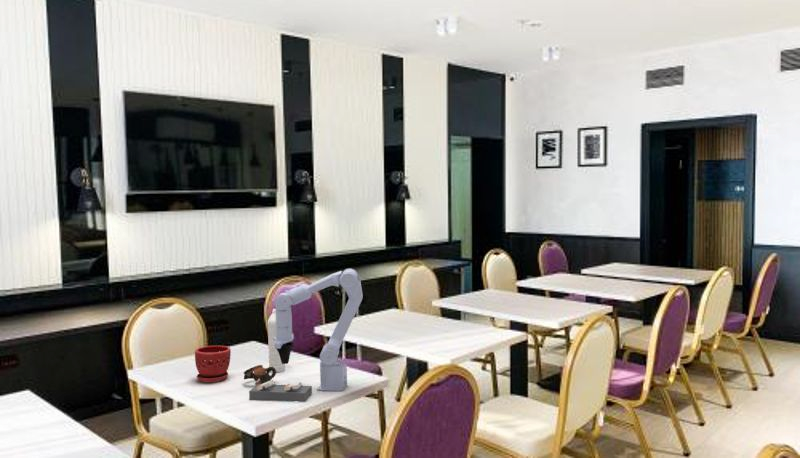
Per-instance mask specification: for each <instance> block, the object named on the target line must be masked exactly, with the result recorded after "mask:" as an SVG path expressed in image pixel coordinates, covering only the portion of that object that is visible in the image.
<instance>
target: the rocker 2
mask: <svg viewBox="0 0 800 458" xmlns="http://www.w3.org/2000/svg"><path fill="white" fill-rule="evenodd" d="M285 385H286V386H285V387H284V389H285V391H286V390H293V389H297V388H299V387H300V386H301V385H302V381H298V382H297V381H296V382H293V383H288V384H285Z"/></svg>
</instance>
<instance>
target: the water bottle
mask: <svg viewBox="0 0 800 458" xmlns="http://www.w3.org/2000/svg"><path fill="white" fill-rule="evenodd" d="M267 333H268V335H267V337H268V340H267V341H268V347H267V348H268V364H269V365H268V367H274V368H275V369H276V373H281V372H285V371H286V364H282V362H281V359H280V355H279V353H278V351H277V349H276V348H275V342H276V341H274V340H273V338H276V308H273V309H272V312H271V315H270V316H269V317H268V320H267ZM270 372H271V373H272V370H271V371H270ZM270 372H269V373H270Z"/></svg>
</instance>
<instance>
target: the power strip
mask: <svg viewBox="0 0 800 458" xmlns="http://www.w3.org/2000/svg"><path fill="white" fill-rule="evenodd" d="M259 385H260V384H258V385H255V386H254V387H252V388H251V389H250V390H249V391H248V396H249V397H248V398H249V400H250V401H272V402H273V401H274V402H275V401H276V402H294V401H298V402H300V403H305V402H307V400H308V399H310V397H311V396H312V395H313V386H312V385H301V386H300V387H299V388H297V389H293V390H286V391H285V389H284V387H285V386H286V385H287V384H275V383H273V384H272V385H271V386H269V387H266V388H265V389H261V390H259V391H258V390H257V387H258V386H259ZM311 394H312V395H311Z"/></svg>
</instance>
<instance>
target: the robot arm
mask: <svg viewBox="0 0 800 458" xmlns="http://www.w3.org/2000/svg"><path fill="white" fill-rule="evenodd" d="M361 282H362V281H361V277H360V275H359V274H358V272H357V271H356V269H354V268H345V269H344V270H339V271H337V272H333V273H331V274H330V275H326V276H325V277H323V278H320V279H319V280H317V281H314V282H313V283H311V284H305V283H302V284H301V283H299V284H296V286H295V287H293V288H290V289H289V290H288V289H286V290H284V292H281V293H279V294H278V295H277V296H276V297H275V298H274V300H273V305H274V307H275V309H276V338H273V340H274V341H276V342H275V348H276V349H277V351H278V353H279V355H280V359H281V362H282V364H285V365H288V363H289V361H290V356H291V352H292V349H293V347H294V342H293V341H294V339H295V337H294V334H295V333H293V314H292V306H296V305H299V304H300V303H303V302H304V301H307V300H309V299H311V296H312V294H314V293H316V292H319V291H321V290H323V289H326V288H328V287H331V286H333V287H338V288H339V287H340V286H341V287H342V288H343V290H344V291H346V292H345V293H346V295H347V297H348V300H347V302H346V305H345V306H344V308H343V310H342V312H341V315H340V317H339V319H338V321H337V324H336V326H335V328H334V329H333V332H332V333H331V335H330V337H329V340H328V342H326V343H325V344H324V345H323V346H322V348H321V349H322V350H321V352H320V354H319V360H320V362H319V373H320V375H319V377H320V380H319V381H320V384H319V386H318V387H317V388H316V390H317V391H329V392H330V391H333V392H342V390H343V389H344V390H345V388H346V387H347V386H348V385H347V384H348V374H347V373H348V369H347V368H348V367H347V365H346V364H345V363H341V361H340V360H339V358H338V357H339V353H340V348H341V345H342V343H343V341H344V338H345V337H346V335H347V333H348V330H349V328H350V326H351V324H352V322H353V320H354V318H355V315H356V313H357V311H358V309H359V307H360V306H361V303H362V301H363V298H364V297H363V296H364V295H363V290H362V289H363V287H362V284H361ZM346 385H347V386H346ZM344 390H343V391H344Z"/></svg>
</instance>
